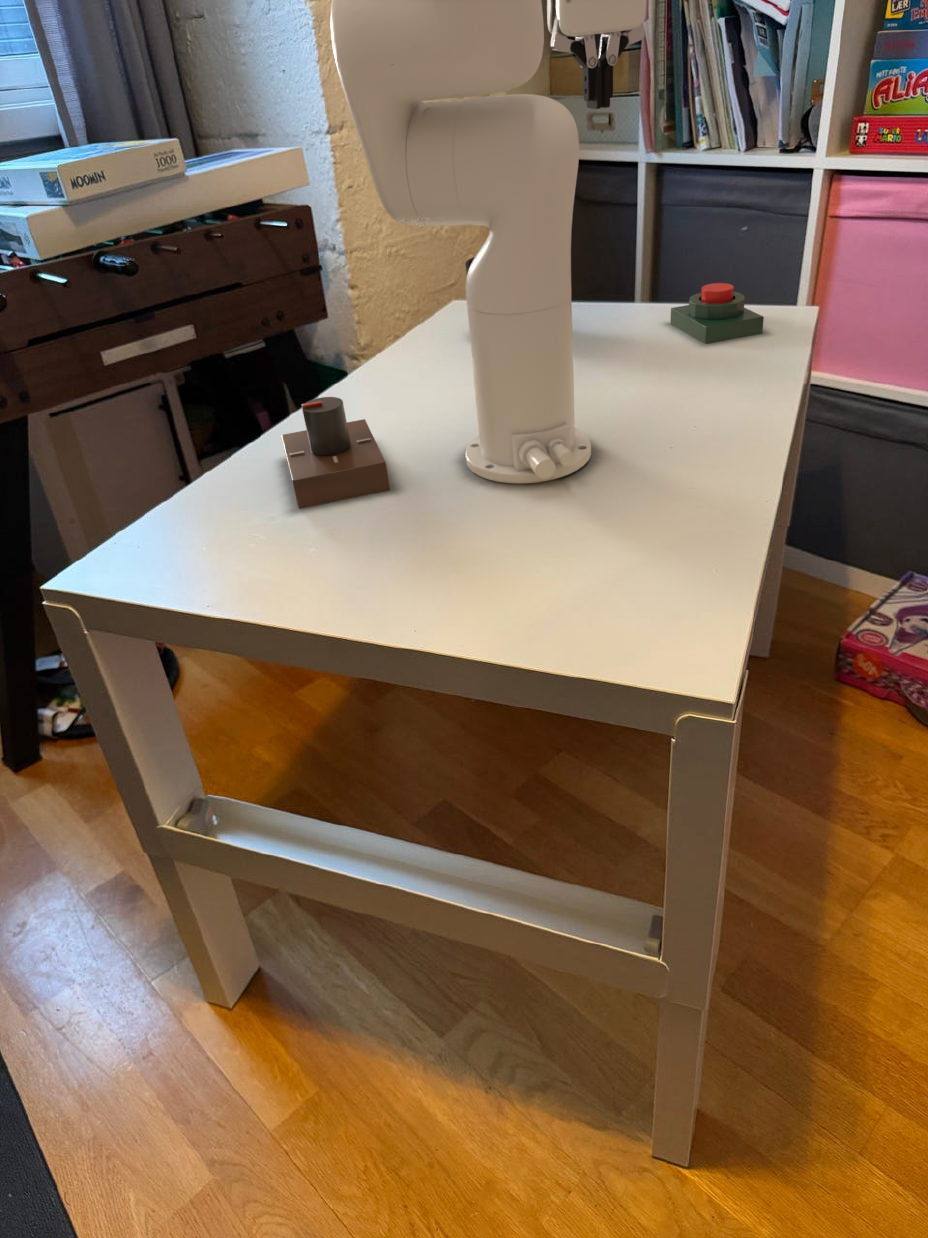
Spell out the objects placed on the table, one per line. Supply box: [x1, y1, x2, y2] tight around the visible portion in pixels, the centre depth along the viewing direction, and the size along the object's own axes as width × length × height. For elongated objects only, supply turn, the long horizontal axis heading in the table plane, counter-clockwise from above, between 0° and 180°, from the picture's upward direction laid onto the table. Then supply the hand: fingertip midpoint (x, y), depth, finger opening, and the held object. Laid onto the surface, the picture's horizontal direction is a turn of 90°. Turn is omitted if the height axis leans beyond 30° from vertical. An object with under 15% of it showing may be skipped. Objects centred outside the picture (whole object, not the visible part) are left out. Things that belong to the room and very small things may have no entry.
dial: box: [301, 396, 351, 456], centre depth 87 cm, size 4×4×5 cm
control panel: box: [280, 418, 391, 510], centre depth 89 cm, size 12×9×3 cm
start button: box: [700, 282, 735, 303], centre depth 114 cm, size 4×4×2 cm
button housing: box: [670, 291, 765, 345], centre depth 115 cm, size 10×8×4 cm
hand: (598, 106), depth 101 cm, fingers closed
